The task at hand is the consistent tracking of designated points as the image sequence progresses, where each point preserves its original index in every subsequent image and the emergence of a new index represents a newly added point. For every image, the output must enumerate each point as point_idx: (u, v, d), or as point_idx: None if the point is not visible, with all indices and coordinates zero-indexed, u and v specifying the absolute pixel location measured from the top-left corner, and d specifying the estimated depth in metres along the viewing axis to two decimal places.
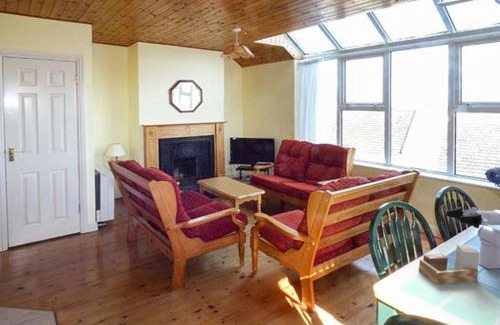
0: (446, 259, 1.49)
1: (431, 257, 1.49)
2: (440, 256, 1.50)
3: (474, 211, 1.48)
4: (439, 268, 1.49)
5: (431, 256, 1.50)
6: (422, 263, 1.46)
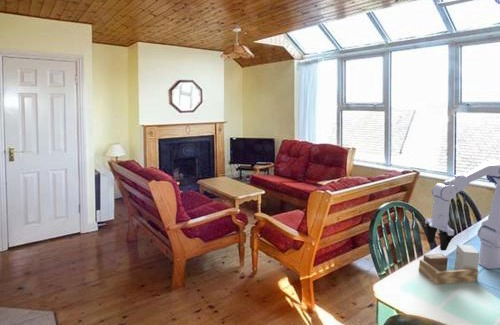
0: (446, 259, 1.49)
1: (431, 257, 1.49)
2: (440, 256, 1.50)
3: None
4: (439, 268, 1.49)
5: (431, 256, 1.50)
6: (422, 263, 1.46)
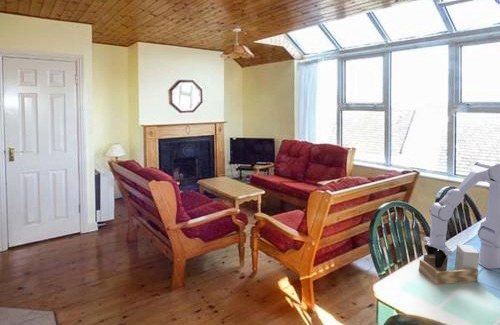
0: (446, 259, 1.49)
1: (431, 257, 1.49)
2: None
3: None
4: (439, 268, 1.49)
5: (431, 256, 1.50)
6: (422, 263, 1.46)
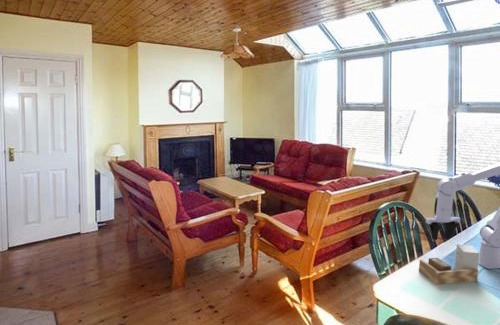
0: (441, 268, 1.41)
1: (434, 259, 1.47)
2: (442, 264, 1.43)
3: None
4: None
5: (436, 260, 1.46)
6: (422, 263, 1.46)
